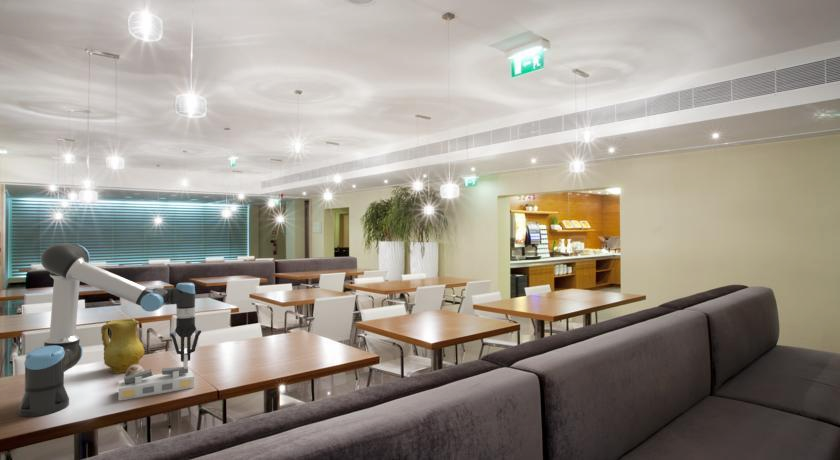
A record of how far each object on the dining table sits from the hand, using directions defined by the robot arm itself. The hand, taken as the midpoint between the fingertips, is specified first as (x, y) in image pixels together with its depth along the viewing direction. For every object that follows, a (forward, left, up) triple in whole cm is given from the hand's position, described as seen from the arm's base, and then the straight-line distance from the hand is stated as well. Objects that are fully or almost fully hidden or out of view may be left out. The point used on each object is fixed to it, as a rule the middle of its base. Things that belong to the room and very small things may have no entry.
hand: (185, 368), depth 200 cm
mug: (-17, +20, -8) cm, 27 cm away
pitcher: (-23, +42, -8) cm, 49 cm away
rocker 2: (-4, 0, -1) cm, 4 cm away
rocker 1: (-18, 0, -1) cm, 18 cm away
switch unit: (-11, 0, -8) cm, 14 cm away
